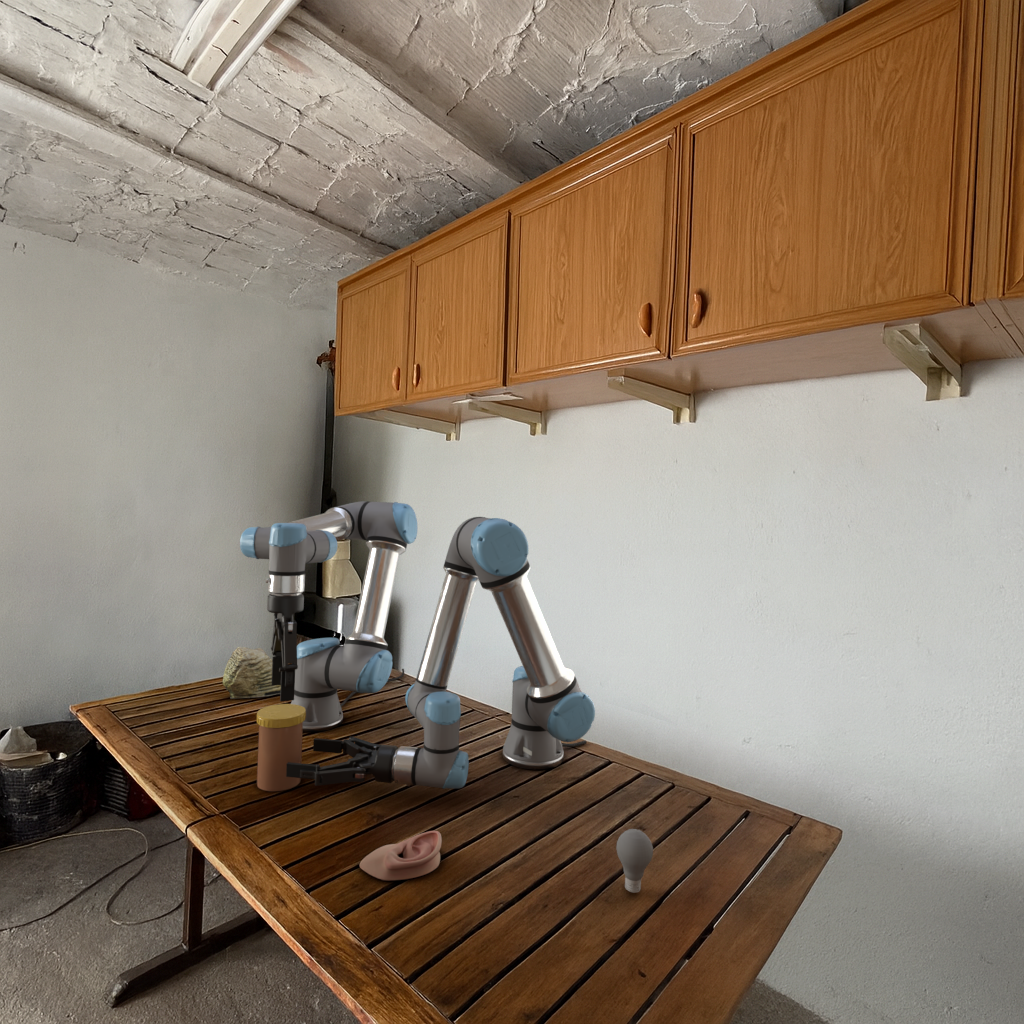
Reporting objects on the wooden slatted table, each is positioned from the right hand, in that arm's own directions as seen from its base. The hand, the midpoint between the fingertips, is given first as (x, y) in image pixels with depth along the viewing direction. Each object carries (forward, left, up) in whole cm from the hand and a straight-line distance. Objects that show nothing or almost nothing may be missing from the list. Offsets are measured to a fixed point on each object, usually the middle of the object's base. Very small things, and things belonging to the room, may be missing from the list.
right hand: (301, 756), depth 138 cm
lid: (+4, -3, +9) cm, 10 cm away
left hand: (+4, -3, +13) cm, 14 cm away
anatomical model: (-17, +35, -6) cm, 39 cm away
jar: (+4, -3, -6) cm, 8 cm away
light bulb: (-52, +53, -6) cm, 74 cm away
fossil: (+13, -68, -6) cm, 69 cm away
